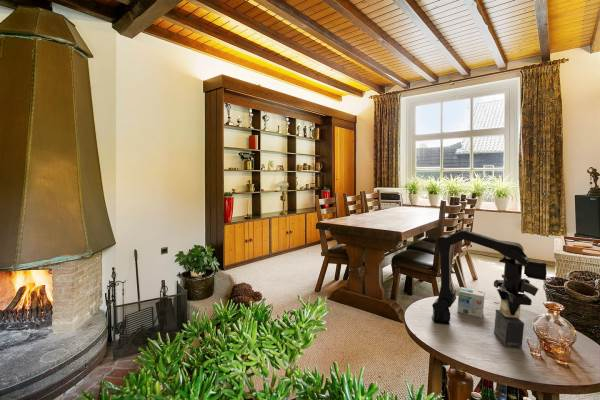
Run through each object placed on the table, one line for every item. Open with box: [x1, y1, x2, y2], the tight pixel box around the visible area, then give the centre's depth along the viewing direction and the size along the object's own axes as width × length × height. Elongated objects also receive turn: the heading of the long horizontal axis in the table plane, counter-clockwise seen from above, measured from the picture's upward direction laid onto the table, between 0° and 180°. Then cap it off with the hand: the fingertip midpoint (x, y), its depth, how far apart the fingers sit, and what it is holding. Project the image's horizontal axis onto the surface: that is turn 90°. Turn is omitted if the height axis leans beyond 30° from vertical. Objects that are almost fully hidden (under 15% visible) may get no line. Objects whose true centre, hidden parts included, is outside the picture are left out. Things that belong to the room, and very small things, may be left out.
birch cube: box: [499, 298, 521, 319], centre depth 121 cm, size 5×5×5 cm
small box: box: [493, 309, 525, 349], centre depth 121 cm, size 11×6×10 cm, turn 168°
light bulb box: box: [456, 286, 486, 319], centre depth 145 cm, size 11×7×11 cm, turn 55°
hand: (509, 312), depth 121 cm, fingers closed on birch cube, 5 cm apart
